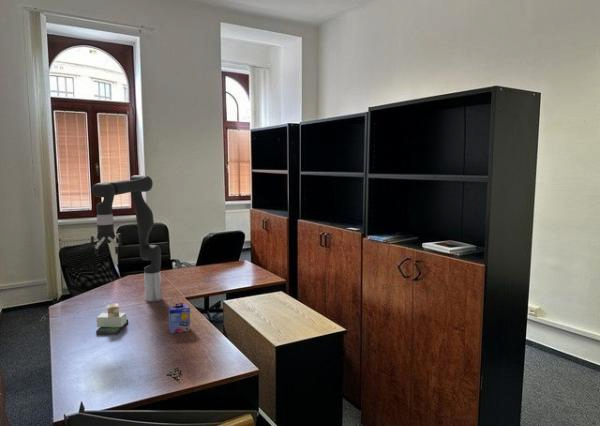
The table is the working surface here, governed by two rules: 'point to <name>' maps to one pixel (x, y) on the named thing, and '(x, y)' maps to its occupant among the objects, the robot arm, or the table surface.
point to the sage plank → (111, 320)
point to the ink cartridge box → (179, 318)
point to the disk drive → (110, 330)
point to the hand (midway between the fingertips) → (107, 254)
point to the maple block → (113, 310)
